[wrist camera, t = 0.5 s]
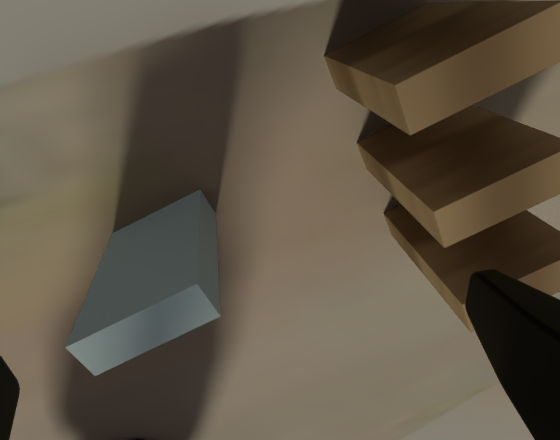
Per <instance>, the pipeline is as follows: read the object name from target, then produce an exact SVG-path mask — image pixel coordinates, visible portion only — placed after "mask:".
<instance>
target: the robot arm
mask: <svg viewBox="0 0 560 440" xmlns="http://www.w3.org/2000/svg"><path fill="white" fill-rule="evenodd" d="M465 308H466V312H467V315H468V317H469V319H470V321H471V323H472V325H473V327H474V330H475V332H476V334H477V336H478V338H479V340H480V342H481V344H482V346H483V348H484V350H485V352H486V355H487V357H488V359H489V361H490V363H491V365H492V367H493V369H494V371H495V373H496V375H497V377H498V379H499V381H500V383H501V385H502V387H503V388H504V390H505V392H506V393H507V395H508V397H509V399H510V400H511V402H512V403H513V405H514V407H515V408H516V410H517V412H518V413H519V415H520V416H521V418H522V420H523V421H524V423H525V424H526V426H527V428H528V429H529V431H530V433H531V434H532V436H533V437H534V439H535V440H560V300H559V299H557V298H555V297H553V296H551V295H549V294H546V293H544V292H542V291H540V290H538V289H536V288H534V287H532V286H530V285H528V284H525V283H523V282H521V281H519V280H517V279H515V278H513V277H511V276H509V275H507V274H504V273H502V272H500V271H498V270H496V269H485V270H479V271H474V272H473V273H472V274H471V275H470V278H469V283H468V289H467V294H466V300H465ZM19 390H20V388H19V383H18V380H17V379H16V377H15V376H14V374H13V373H12V371H11V370H10V368H9V367H8V366H7V364H6V363H5V361H4V360H3V358H2V357H1V356H0V440H9V438H10V434H11V429H12V425H13V420H14V416H15V411H16V407H17V402H18V398H19Z"/></svg>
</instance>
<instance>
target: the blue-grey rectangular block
mask: <svg viewBox="0 0 560 440" xmlns="http://www.w3.org/2000/svg"><path fill="white" fill-rule="evenodd" d="M220 316H221V313H220V291H219V269H218V247H217V225H216V213H215V212H214V210H213V209H212V207H211V205H210V204H209V202H208V201H207V199H206V197H205V196H204V194H203V193H202V191H201V189H199V190H197V191H195V192H193V193H191V194H189V195H187V196H185V197H183V198H181V199H179V200H177V201H175V202H173V203H171V204H169V205H167V206H165V207H163V208H161V209H159V210H157V211H155V212H153V213H151V214H149V215H147V216H146V217H144V218H142V219H140V220H138V221H136V222H134V223H132V224H130V225H128V226H126V227H124V228H122V229H120V230H118V231H116V232H114V233H112V236H111V238H110V240H109V243H108V245H107V248H106V250H105V253H104V255H103V257H102V260H101V262H100V265H99V267H98V269H97V272H96V274H95V277H94V279H93V282H92V284H91V286H90V289H89V291H88V294H87V296H86V298H85V301H84V303H83V306H82V308H81V310H80V313H79V315H78V318H77V320H76V323H75V325H74V327H73V330H72V332H71V335H70V337H69V339H68V342H67V344H66V347H65V348H66V349H67V350H68V351H69V352H70V353H71V354H72V355H73V356H74V357H75V358H77V359H78V360H79V361H80V362H81V363H82V364H83V365H84V366H85V367H86V368H87V369H88V370H89V371H90V372H91V373H92V374H93V375H94V376H97V375H99V374H101V373H103V372H105V371H107V370H109V369H111V368H113V367H115V366H118V365H120V364H122V363H124V362H126V361H128V360H130V359H132V358H134V357H136V356H139V355H141V354H143V353H145V352H147V351H149V350H151V349H153V348H155V347H157V346H160V345H162V344H164V343H166V342H168V341H170V340H172V339H174V338H176V337H178V336H181V335H183V334H185V333H187V332H189V331H191V330H193V329H195V328H197V327H199V326H202V325H204V324H206V323H208V322H210V321H212V320H214V319H216V318H218V317H220Z"/></svg>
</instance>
